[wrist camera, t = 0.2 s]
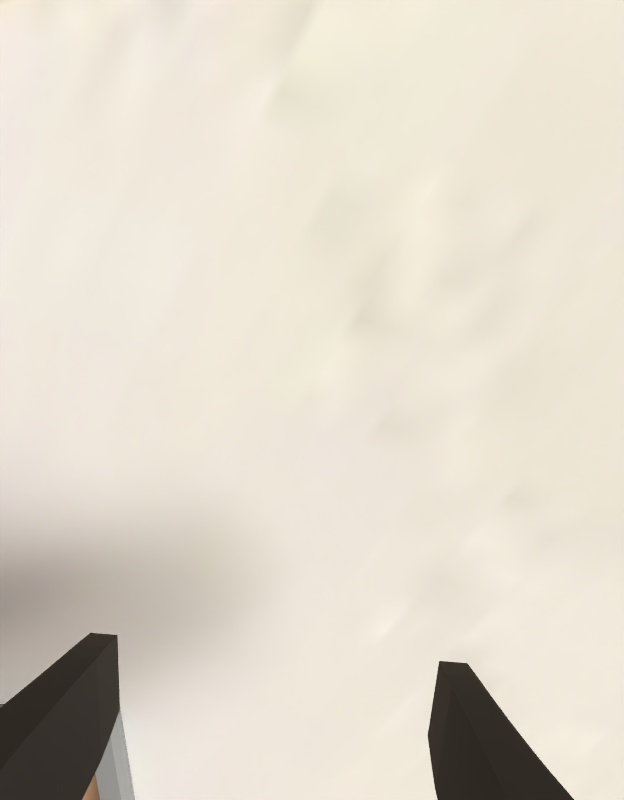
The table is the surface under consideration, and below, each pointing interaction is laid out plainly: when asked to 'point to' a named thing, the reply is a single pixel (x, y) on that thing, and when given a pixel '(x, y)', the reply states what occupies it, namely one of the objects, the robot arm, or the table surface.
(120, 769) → the build board
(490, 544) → the table surface
